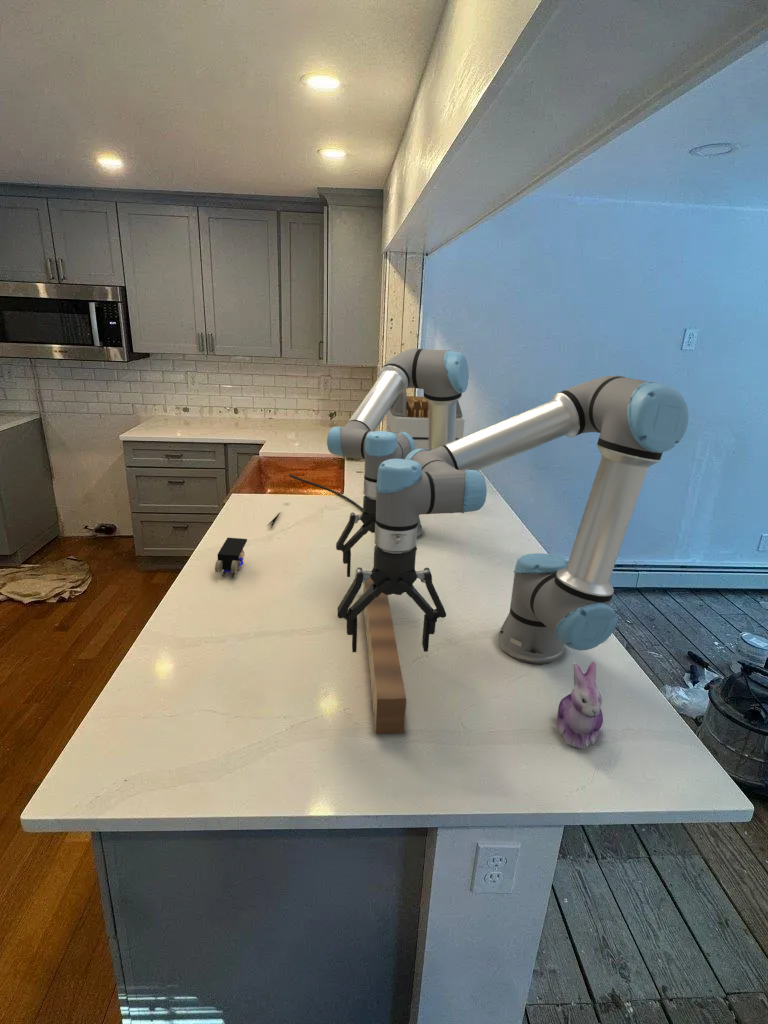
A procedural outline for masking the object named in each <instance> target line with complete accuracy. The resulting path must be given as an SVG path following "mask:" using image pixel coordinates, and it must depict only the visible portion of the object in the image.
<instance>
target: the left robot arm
mask: <svg viewBox="0 0 768 1024" xmlns="http://www.w3.org/2000/svg"><path fill="white" fill-rule="evenodd" d="M469 378H470V371H469V364H468V360H467V357H466V356H465V354H464V353H462V352H459V351H452V350H446V349H444V350H443V349H425V348H410V349H407V350H404V351H402V352H399V353H398V354H396V355H394V356H393V357H392V358H390V359H389V360H388V361H386V362H385V363H384V364H383V365H382V367H381V368H380V370H379V371H378V373H377V380H376V381H375V383H374V384H373V385H372V387H371V388H370V390H369V391H368V392H367V394H366V395H365V397H364V398H363V400H362V401H361V403H359V405H358V407H357V408H356V410H354V413H353V414H352V415H351V417H350V418H349V419H348V420H347V422H346V423H345V425H344V426H341V425H339V426H333V427H331V428H330V429H329V431H328V434H327V437H326V446H327V450H328V452H329V453H330V454H331V455H335V456H338V457H342V458H346V457H350V458H353V459H358V460H364V475H363V495H364V496H363V499H362V500H363V501H362V506H361V505H360V504H358V503H357V502H355V501H354V500H352V499H351V498H349V497H347V496H345V495H344V494H342V493H340V492H338V491H335V490H333V489H331V488H329V487H326V486H323V485H320V484H318V483H314V482H313V481H312V482H311V481H309V480H306V479H303V478H300V477H298V476H295V475H293V474H290V473H289V474H288V477H289V478H292V479H293V480H297V481H300V482H301V483H305V484H308V485H310V486H313V487H316V488H319V489H322V490H324V491H327V492H329V493H332V494H335V495H336V496H339V497H341V498H343V499H345V500H346V501H348V502H350V504H352V505H354V506H355V507H357V509H359V510H360V511H361V512H362V513H361V514H357V513H355V512H353V511H352V512H350V514H349V519H348V522H347V524H346V525H345V528H344V529H343V531H342V532H341V534H340V536H339V537H338V540H337V541H336V543H335V549H336V551H341V552H342V563H343V564H344V565H346V577H347V578H351V565H352V563H351V562H352V561H351V560H352V548H353V547H354V546H355V545H356V544H357V543H358V542H359V541H360V540H361V539H362V538H363V537H364V535H366V534H367V533H369V532H370V534H375V522H376V485H377V476H378V469H379V466H380V464H381V463H382V462H384V461H386V460H389V459H405V458H406V456H407V455H408V454H409V453H410V452H411V451H413V450H414V449H415V443H414V440H413V438H412V437H411V436H410V435H409V434H407V433H405V432H395V433H392V432H387V431H386V430H378V428H379V426H380V424H381V423H382V422H383V420H384V418H386V414H387V412H388V411H389V409H390V407H391V406H392V404H393V403H394V401H395V400H396V398H397V397H398V395H399V394H402V393H403V392H405V390H406V391H407V389H420V390H423V397H424V398H425V399H426V400H427V401H428V402H429V450H433V449H435V448H438V447H441V446H443V445H446V444H448V443H451V442H453V441H455V438H456V403H457V401H458V402H459V400H460V399H461V398H462V395H463V393H466V391H467V389H468V386H469ZM359 521H361V523H362V525H361V526H360V527H359V529H358V530H357V531H356V532H355V533H354V534H353V535H352V536H351V537H349V536H350V534H351V532H352V530H353V528H354V526H355V524H357V523H358V522H359ZM422 535H423V525H422V524H421V518H420V516H419V517H418V526H417V539H418V538H420V537H421V536H422ZM348 537H349V539H348ZM347 539H348V540H347ZM415 548H416V551H418V547H417V545H416V546H415Z"/></svg>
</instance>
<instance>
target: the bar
mask: <svg viewBox="0 0 768 1024" xmlns="http://www.w3.org/2000/svg"><path fill="white" fill-rule="evenodd" d="M372 583H373V581H372V580H371V578H368V579H367V581H366V582H365V583H362V595H363V594H364V593H365V592H366V591H367V590H368V589H369V588H370V586H371V585H372ZM388 596H389V595H385V594H384V593H381V594H380V595H379V596H378V597H377V598H375V599H374V600H373V601H372V602H371V603H370V604H369V605H368V606H367V607H366V608H365V609H364V610H363V613H364V614H363V615H364V626H365V636H366V646H367V659H368V667H369V668H368V669H369V678H370V679H369V680H370V690H371V701H372V711H373V721H374V731H375V732H374V734H376V735H381V734H385V735H387V734H405V722H406V721H405V720H406V706H407V705H406V704H407V697H406V690H405V684H404V678H403V674H402V668H401V663H400V657H399V652H398V646H397V645H398V644H397V640H396V635H395V628H394V624H393V617H392V613H391V606H390V602H389V601H390V600H389V597H388Z"/></svg>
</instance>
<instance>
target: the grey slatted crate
mask: <svg viewBox="0 0 768 1024" xmlns="http://www.w3.org/2000/svg"><path fill="white" fill-rule="evenodd" d="M407 394H408V393H407V389H406V390H405V392H403V393H402V394H399V395H398V397H397V398H396V400H395V401H394V403H393V404H392V406H391V407H390V409H389V411H388V412H387V414H386V415H385V423H386V428H385V431H387V432H392V433H395V432H405V433H407V434H409V435H410V436H411V437H412V438H413V440H414V443H415V449H428V450H429V402H428V401H427V400H426V399H425V398H424V396H415V395H414V396H413V395H412V396H411V395H407ZM464 429H465V419H464V418H463V411H462V408H461V405H460V402H459V400H458V401H457V403H456V438H455V440H458V439H460V438H463V437H464V431H465V430H464ZM415 449H414V450H415Z"/></svg>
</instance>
